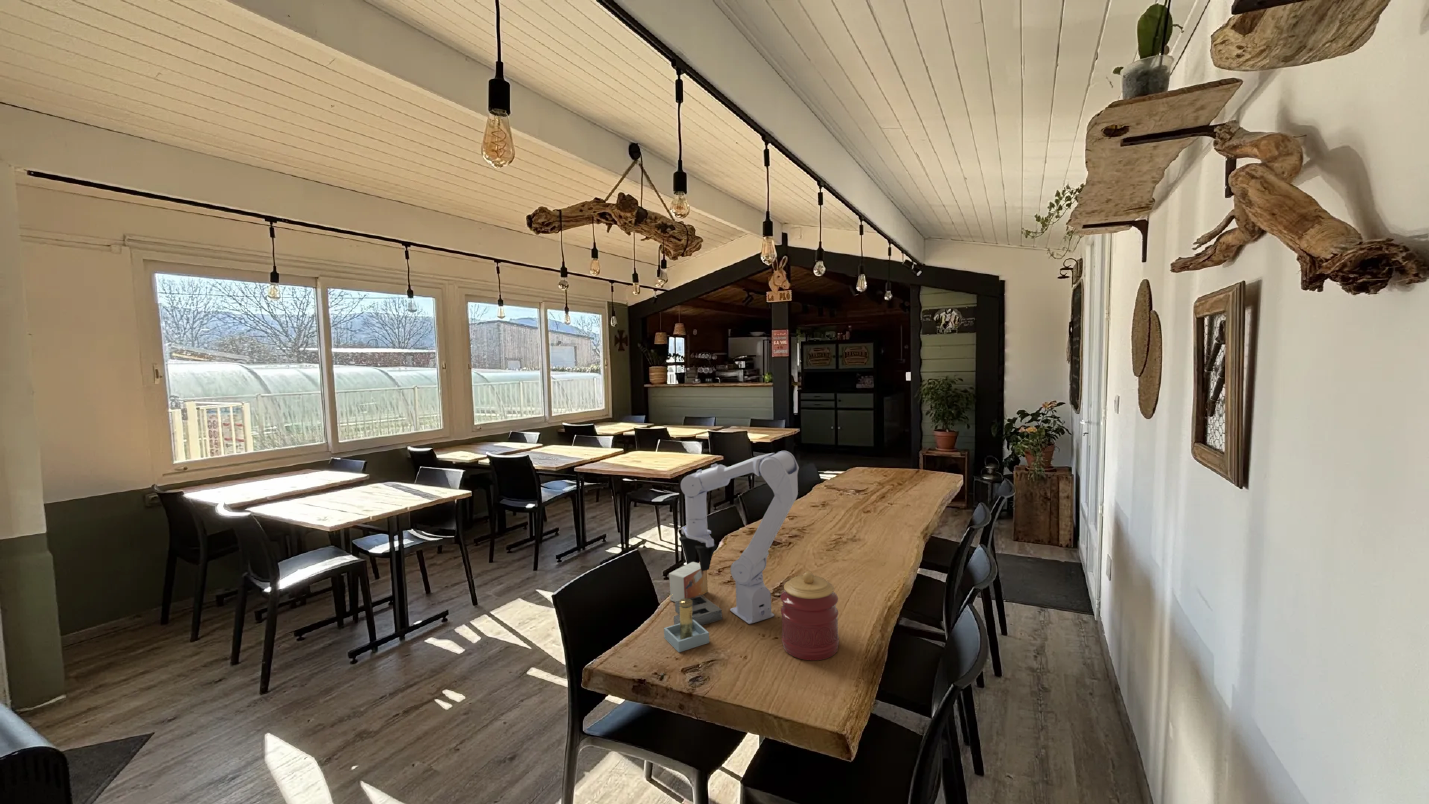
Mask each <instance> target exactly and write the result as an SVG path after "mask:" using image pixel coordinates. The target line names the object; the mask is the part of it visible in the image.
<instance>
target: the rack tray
mask: <svg viewBox="0 0 1429 804" xmlns="http://www.w3.org/2000/svg"><path fill="white" fill-rule="evenodd" d="M692 623H693V636H692V637H689V638H686V639H682V640H681V639H680V623H679V624H676V625H674V624H673V625H670V626H667V627H663V638H664V639H665V640H666V642H667V643H669V644H670V645H671V647H673V648H674V649H675V651H676V652H678V653H681V652H684V651H688V650H690V649H693V648H697V647H700V646H703V645H706V644H709V643H710V632H709V631H708V630H707V629H706V628H704V627H703V625H702V626H701V625H699V624H698V623H697V622H696V621H695V620H694V619H693V620H692Z"/></svg>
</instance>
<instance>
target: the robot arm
mask: <svg viewBox="0 0 1429 804" xmlns="http://www.w3.org/2000/svg"><path fill="white" fill-rule="evenodd" d="M799 469H800V467H799V463H798V462H797V460H796V458H795V456H794V454H792V453H791V452H790V451H787V450H781V451H777V452H776V453H775V452H771V453H766V454H765V453H764V454H761V455H758V456H757V455H756V456H754V457H752V458H749V459H746V460H744V461H741V462H738V463H735V464H732V465H731V466H726V465H723V464H718V463H714V464H711V465H710V467H709V468H706V469H703V470H702V469H698V470H696V472H693V473H691V474H688V475H686V476H684V477H683V478H682V480H681V481H680V489H681V492H682V493H683V495H684V499H685V501H684V502H685V524H686V525H685V526H682V527H681V534H682V535H683V536H679V538H678V540H679V542H680V543H681V546H682V547H683V550H684V554H685V557H686V560H687V563H688V564H689V563H691V562H696V559H697V555H698V561H699V564H700V567H701V570H702V571H705V570H707V571H708V570H710V567H711V563H712V558H713V555H714V553H715V551H716V549H717V544H716V543H715V540H714V538H713V537H712V536H711V535H710V534H712V530H710V529H708V509H707V505H708V504H707V493H708V492H710V491H713V490H716V489H720V488H722V487H726V486H728V485H729V483H730V482H731V479H734V478H738V477H741V476H744V475H748V474H754V475H756V476H757V477H760V476H761V477H762V479H763V480H764V481H765V482H766V483H767V485H768V486H769V488H771V490H772V492H773V495H774V496H773V498H772V500H771V502H770V504H769V505H768V507H767V510H766V511H765V513H764V515H763V517H762V518H761V521H760V523H759V524H758V527H757V529H756V530H755V532H754V534H753V536H752V538H751V540H750V542H749V544H748V546H747V547H746V548H745V549H744V551H742V553H741V554H740V556H739V557H738V559H736V560H734V561H733V562H732V564H731V565H730V575H731V577H732V579H733V580H734V581H735V599H736V600H735V602H736V603H735V604H736V606H735V607H732V608H731V607H730V609H729V611H730V612H732V613H733V614H734V615H736V617H739V618H740V619H741V620H742V621H744V622H745V623H747V624H749V625H752V624H754V623H757V622H761V621H764V620H768V619H770V618H773V617H775V614H774V613H773V612H772V593H771V591H770V590H769V588H768V587H767V586H766V585H765V582H764V575H763V571H764V570H766V567H767V558H768V556H769V554H770V553H769V549H770V548H771V546H772V544H773V542H774V540H775V539H776V537H777V535H778V532H779V531H780V529H781V528H782V525H783V524H784V522H785V520H786V517H787V516H788V515H789V513H790V510H792V507H793V505H794V503H795V501H796V500H797V498H798V495H799V492H798V491H799V486H798V481H799V480H798V474H799ZM699 542H700V543H701V544H699V545H698V543H699Z"/></svg>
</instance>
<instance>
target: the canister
mask: <svg viewBox="0 0 1429 804" xmlns="http://www.w3.org/2000/svg"><path fill="white" fill-rule="evenodd" d="M783 589H784V590H783V591H782V592H781V594H780V600H781V602H782V606H781V609H780V614H781V630H782V632H781V643H782V645H783V646H782V647H783V650H784V651H785V652H786V653H787V654H788V655H790V656H792V657H794V658H797V659H799V660H800V659H801V660H804V661H821V660H826V659H829V658H831V657H833V656H834V655H836V654H837V652H838V649H839V645H840V637H839V621H838V620H839V619H838V618H839V609H838V608H837V603H838V602H839V597H838V595H837V593H836V592H834V591H835V586H834V585H833V583H831V582H830V581H828V580H827V579H826V578H824V577H821V576H819V575H815V574H813V572H812V571H805V572H804V573H803V574H801V575H796V576H794V577H792V578H790V579H789V580H787V581H786V582H785V583H784V585H783Z"/></svg>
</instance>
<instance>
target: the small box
mask: <svg viewBox="0 0 1429 804" xmlns="http://www.w3.org/2000/svg"><path fill="white" fill-rule="evenodd" d="M668 578H669V595H670V596H671V595H672V594H673V595H672V596H671V597H669V598H670V599H669V600H670V601H672V602H674V603H675V602H676V601H680V600H681V599H684V598H691V597H695V596H698V595H703V596H704V595H705V594H707V593H708V592H709V587H708V570H705V571H702V570H701V567H700V562H696V561H694V562H690V563H689V562H688V563H687V564H685V565H682V566H680V567H679V568H676V569H675V570H673V571H671V572H669V573H668Z"/></svg>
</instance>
